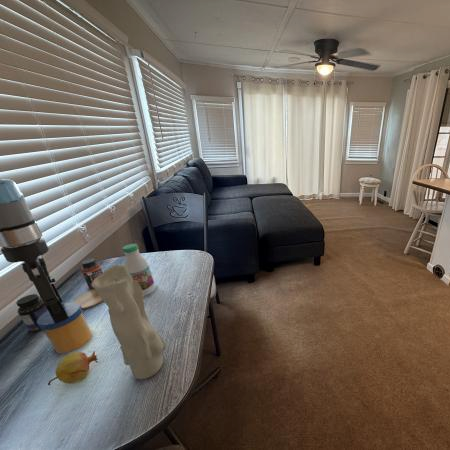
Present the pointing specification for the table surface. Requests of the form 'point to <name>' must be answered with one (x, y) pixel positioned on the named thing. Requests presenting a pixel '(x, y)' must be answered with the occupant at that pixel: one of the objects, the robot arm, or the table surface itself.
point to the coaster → (88, 299)
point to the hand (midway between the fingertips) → (59, 311)
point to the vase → (130, 321)
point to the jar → (70, 335)
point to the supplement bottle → (91, 271)
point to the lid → (72, 311)
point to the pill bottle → (31, 311)
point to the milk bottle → (138, 268)
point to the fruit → (74, 367)
